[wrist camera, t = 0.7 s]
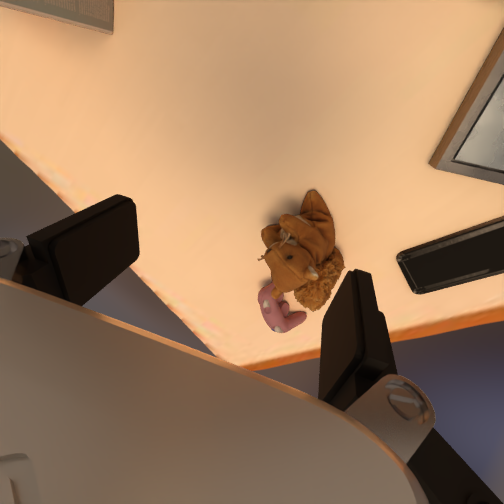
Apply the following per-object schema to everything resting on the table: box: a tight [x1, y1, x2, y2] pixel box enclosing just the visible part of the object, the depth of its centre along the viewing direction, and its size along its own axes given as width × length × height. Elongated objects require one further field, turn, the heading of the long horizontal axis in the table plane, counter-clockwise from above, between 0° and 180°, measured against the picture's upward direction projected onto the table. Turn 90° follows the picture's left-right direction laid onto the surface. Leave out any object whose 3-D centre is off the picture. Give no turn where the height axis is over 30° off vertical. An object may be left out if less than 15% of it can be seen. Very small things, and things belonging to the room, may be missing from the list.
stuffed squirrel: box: [258, 191, 345, 312], centre depth 34 cm, size 10×14×13 cm
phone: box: [396, 216, 504, 294], centre depth 34 cm, size 8×1×15 cm
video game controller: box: [258, 282, 307, 333], centre depth 44 cm, size 10×5×7 cm, turn 24°
